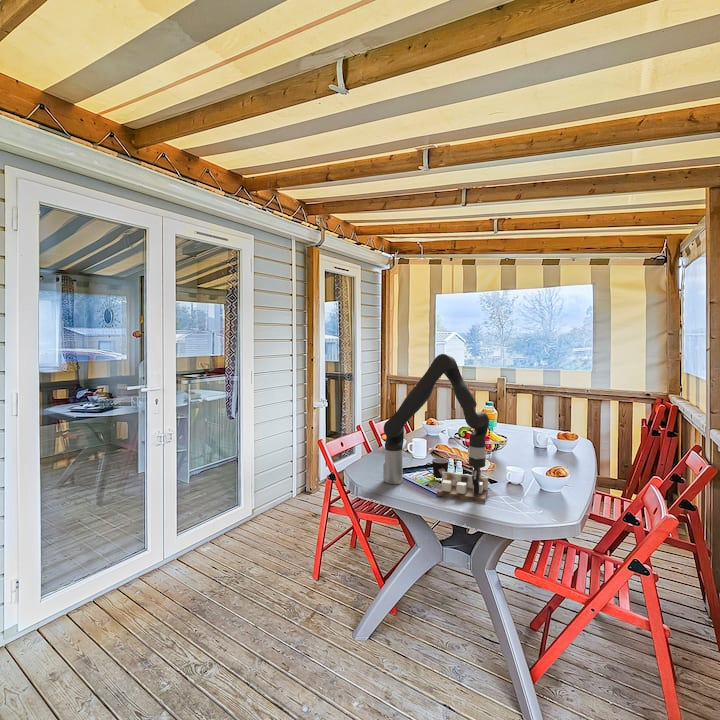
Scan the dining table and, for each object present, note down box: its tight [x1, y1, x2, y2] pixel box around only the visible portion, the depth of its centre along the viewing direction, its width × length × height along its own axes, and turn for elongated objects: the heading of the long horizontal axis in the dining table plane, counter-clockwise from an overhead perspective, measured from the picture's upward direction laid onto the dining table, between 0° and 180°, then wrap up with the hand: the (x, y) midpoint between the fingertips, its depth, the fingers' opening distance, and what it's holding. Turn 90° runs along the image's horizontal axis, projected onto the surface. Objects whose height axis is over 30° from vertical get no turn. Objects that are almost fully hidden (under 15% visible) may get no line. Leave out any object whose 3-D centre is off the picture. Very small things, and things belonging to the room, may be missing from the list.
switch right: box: [473, 482, 483, 493], centre depth 196 cm, size 4×4×4 cm
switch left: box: [441, 480, 452, 492], centre depth 198 cm, size 4×4×4 cm
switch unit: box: [436, 471, 489, 504], centre depth 198 cm, size 22×12×8 cm, turn 67°
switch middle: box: [456, 482, 467, 494], centre depth 195 cm, size 4×4×4 cm
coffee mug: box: [424, 457, 449, 478], centre depth 220 cm, size 12×9×10 cm
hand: (476, 492), depth 192 cm, fingers closed
